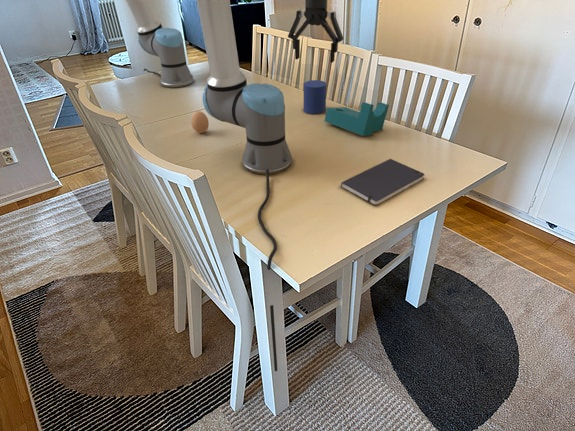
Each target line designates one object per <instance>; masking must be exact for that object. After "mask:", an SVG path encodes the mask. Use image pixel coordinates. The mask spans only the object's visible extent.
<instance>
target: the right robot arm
mask: <svg viewBox="0 0 575 431" xmlns="http://www.w3.org/2000/svg"><path fill="white" fill-rule="evenodd" d="M304 1H305V2H304V4H305V6H304V10H302V9H298V10H296V12H295V19H294V21H293V23H292V25H291V28H290V30H289V33H288V34H287V38H288V39H291V40H292V49H293V50H294V59H295V60H298V59H300V58H301V56H300V55H301V40H300V38H299V37H300V36H301V35H302V33H303V32H304V31H305V30H306V28H307V27H308V26H309V25H310V26H317V27H319V26H321V27H322V28H323V29H324V31H325V32H326V33H327V35H328V36H329V38H330V40H331V41H332V42H331V44H330V61H329V62H330V63H334V62H335V54H336V53H337V52H338V50H339V48H338V47H339V43H340V42H342V41H344V36H343V33H342V30H341V28H340V25H339V22H338V20H337V12H336V11H335V10H333V11H330V12H329V11H328V0H304ZM196 5H197V11H198V15H199V16H198V17H199V21H200V26H201V31H202V36H203V41H204V42H203V43H204V47H205V52H206V58H207V63H208V69H209V73H210V75H209V76H208V78H207V79H206V85H205V86H204V89H203V91H204V92H203V93H202V105H203V108H204V109H205V111H206V113H207V114H208V115H209V116H211V118H214V119H216V120H217V121H220V122H223V123H228V124H231V125H234V126H237V127H240V128H243V129H245V136H246V137H245V138H246V143H245V146H244V151H243V155H242V166H243V168H244V170H246V171H247V172H249V173H252V174H254V175H255V174H256V175H262V176H265V182H266V185H265V186H266V187H265V188H266V196H265V198H264V200H263V202H262V203H261V205H260V206H259V208H258V211H257V219H258V222H259V225H260V228H261V229H262V231H263V232H264V234H265V235H266V236H267V237H268V239H269V240H270V241H271V242H272V245H273V247H272V248H273V249H272V250H271V252H270V254H269V255H268V258H267V264H266V266H267V267H266V270H268V271H271V268H272V260H273V258H274V255H276V252H277V249H278V244H277V241H276V238H274V236H273V235H272V234H271V233H270V232H269V231H268V229H267V228H266V226H265V224H264V222H263V219H262V211H263V209H264V207H265V206H266V205H267V203H268V201H269V199H270V175H277V174H280V173H283V172H286V171H287V170H289V169H290V167H291V166H292V163H293V158H292V153H291V150H290V148H289V145H288V143H287V140H286V104H285V96H284V94H283V91H282V90H281V89H280V88H279V87H277V86H275V85H273V84H269V83H260V82H255V83H249V84H248V82H247V76H246V74H245V73H244V72H242V71H241V70H240V62H239V54H238V49H237V41H236V35H235V34H236V33H235V28H234V20H233V14H232V7H231V6H232V5H231V0H196ZM303 17H304V18H305V20H304V22H303V23H302V25H301V26H300V28H298V26H299V24H300V22H301V19H302V18H303ZM327 18H329V20H330V22H331V24H332V27H333V29H332V28H331V26H330V24H329V23H328V21H327ZM297 28H298V30H297ZM333 30H334V31H333ZM269 308H270V309H269V312H270V325H271V326H270V327H271V341H272V353H273V368H274V372H278V357H277V355H278V354H277V342H276V327H275V326H276V324H275V311H274V308H275V307H274V304H272V305H270V306H269Z"/></svg>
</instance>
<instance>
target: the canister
mask: <svg viewBox="0 0 575 431" xmlns="http://www.w3.org/2000/svg"><path fill="white" fill-rule="evenodd" d="M326 105H327V82H325V81H324V80H320V79H312V80H306V81H304V82H303V112H304V113H305V114H309V115H320V114H324V113H326V111H327V106H326Z"/></svg>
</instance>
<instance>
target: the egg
mask: <svg viewBox="0 0 575 431" xmlns="http://www.w3.org/2000/svg"><path fill="white" fill-rule="evenodd" d="M190 122H191V127H192V129H193V131H195V132H196V133H198V134H203V133H205V132H207V130H208V129H209V127H210V126H209V125H210V122H209V118H208V117H207V115H206V114H205V113H204V112H203V111H200V110H197V111H195V112H194V113H193V114H192V116H191V120H190Z"/></svg>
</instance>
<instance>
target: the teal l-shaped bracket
mask: <svg viewBox="0 0 575 431" xmlns="http://www.w3.org/2000/svg"><path fill="white" fill-rule="evenodd" d="M360 106H361V107H360V110H359V111H358V110H355V109H352V108H349V107H344V106H343V107H341V106H340V107H337V106H336V107H326V110H325V116H324V122H325V123H328V124H330V125H333V126H336V127H339V128H341V129H344V130H346V131H349V132H351V133H354V134H357V135H359V136H362V137H366V136H373V134H374V132H378V131H379V132H380V131H383V128H384V125H385V121H386V118H387V113H388V109H389V106H390V104H387V103H384V102H381V101H380V102H377V105H376V107H375V108H374V104H372V103H369V102H364V101H363V102H362V103H361V105H360Z"/></svg>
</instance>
